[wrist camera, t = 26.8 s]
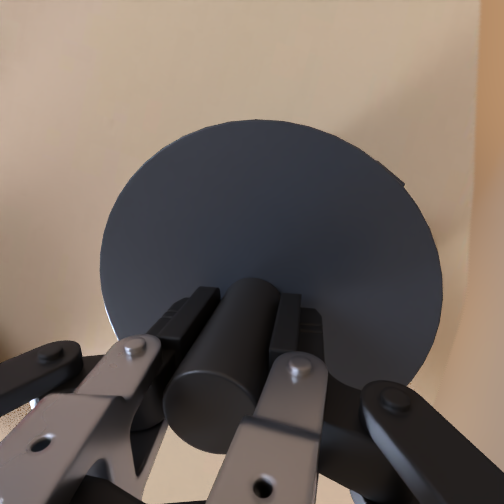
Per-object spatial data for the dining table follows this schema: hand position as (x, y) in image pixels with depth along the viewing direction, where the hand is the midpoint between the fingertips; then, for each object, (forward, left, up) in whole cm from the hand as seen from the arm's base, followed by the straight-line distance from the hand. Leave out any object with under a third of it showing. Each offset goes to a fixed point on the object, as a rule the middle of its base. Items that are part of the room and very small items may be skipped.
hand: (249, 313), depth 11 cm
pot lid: (0, 0, -1) cm, 1 cm away
